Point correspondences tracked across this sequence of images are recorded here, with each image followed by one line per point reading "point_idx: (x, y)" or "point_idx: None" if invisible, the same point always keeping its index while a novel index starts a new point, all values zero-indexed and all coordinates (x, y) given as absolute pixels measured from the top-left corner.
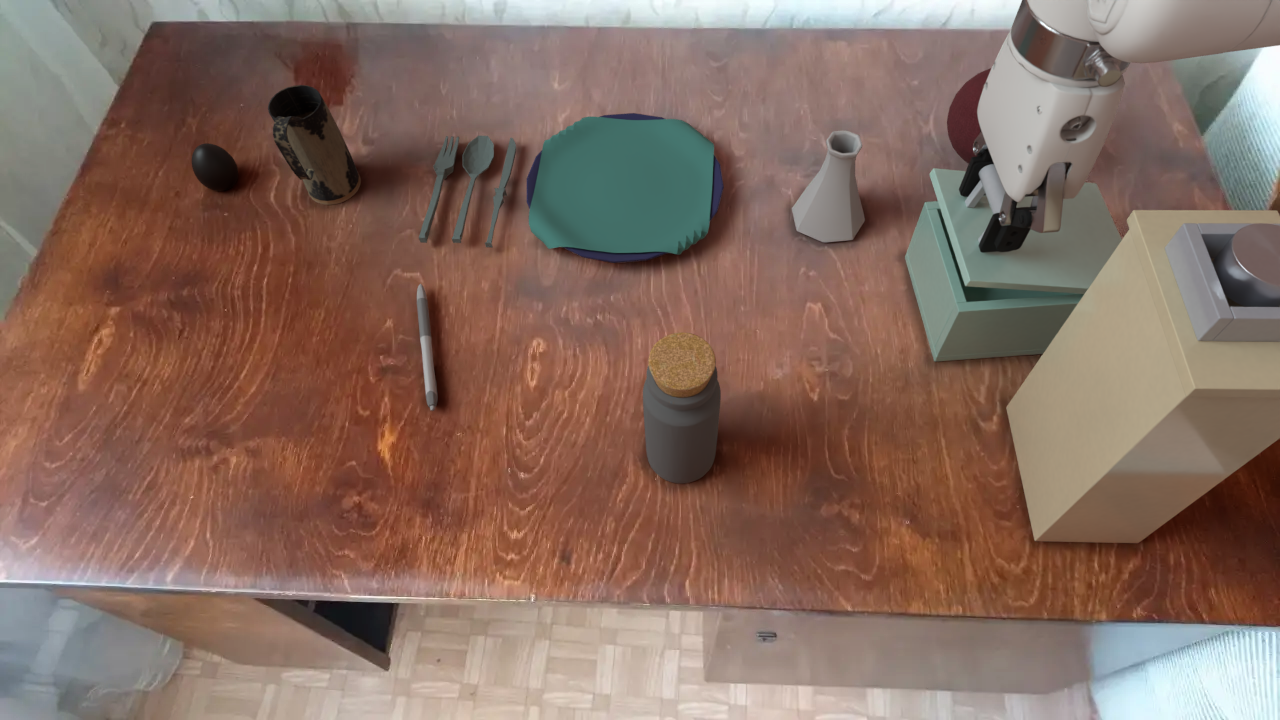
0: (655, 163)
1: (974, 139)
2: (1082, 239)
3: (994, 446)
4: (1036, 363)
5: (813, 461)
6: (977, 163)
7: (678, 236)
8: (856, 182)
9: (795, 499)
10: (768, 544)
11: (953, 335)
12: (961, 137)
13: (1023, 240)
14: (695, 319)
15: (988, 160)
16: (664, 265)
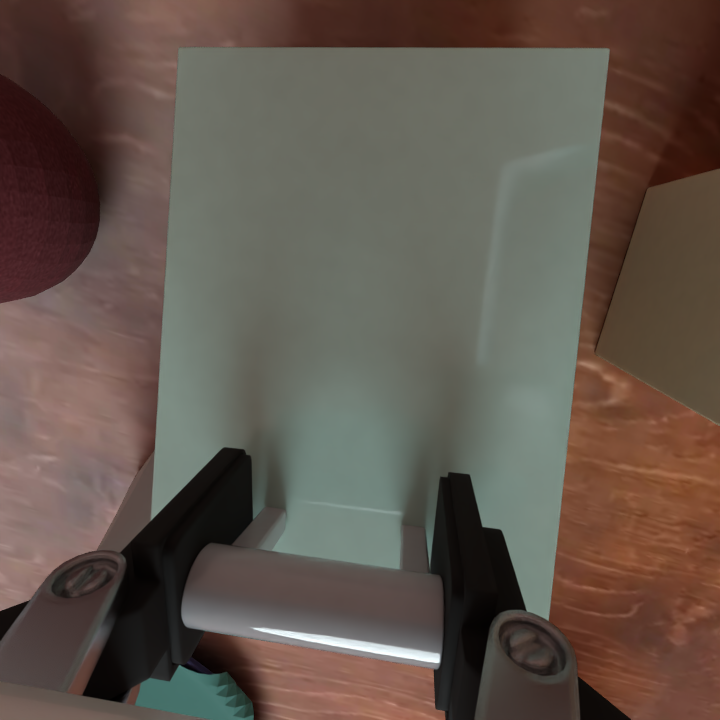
0: None
1: (27, 280)
2: (398, 192)
3: (658, 396)
4: (686, 406)
5: (600, 631)
6: (177, 661)
7: (225, 709)
8: (143, 524)
9: (648, 665)
10: (700, 708)
11: None
12: (23, 295)
13: (473, 495)
14: (349, 691)
15: (165, 635)
16: (261, 699)
